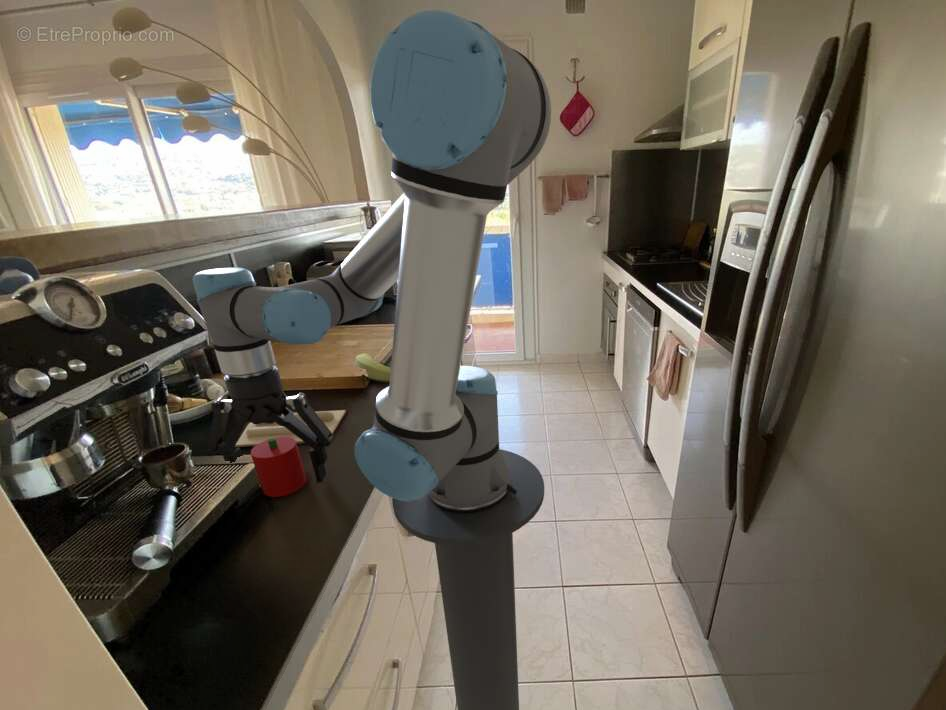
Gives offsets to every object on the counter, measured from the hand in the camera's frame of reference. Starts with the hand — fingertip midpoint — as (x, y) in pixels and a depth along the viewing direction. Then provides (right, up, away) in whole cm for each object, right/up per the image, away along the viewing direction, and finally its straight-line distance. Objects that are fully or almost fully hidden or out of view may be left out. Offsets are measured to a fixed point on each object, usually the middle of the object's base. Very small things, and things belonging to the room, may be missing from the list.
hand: (283, 480), depth 80 cm
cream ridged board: (-9, +8, +20) cm, 23 cm away
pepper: (0, -1, 0) cm, 1 cm away
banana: (0, +22, +50) cm, 54 cm away
